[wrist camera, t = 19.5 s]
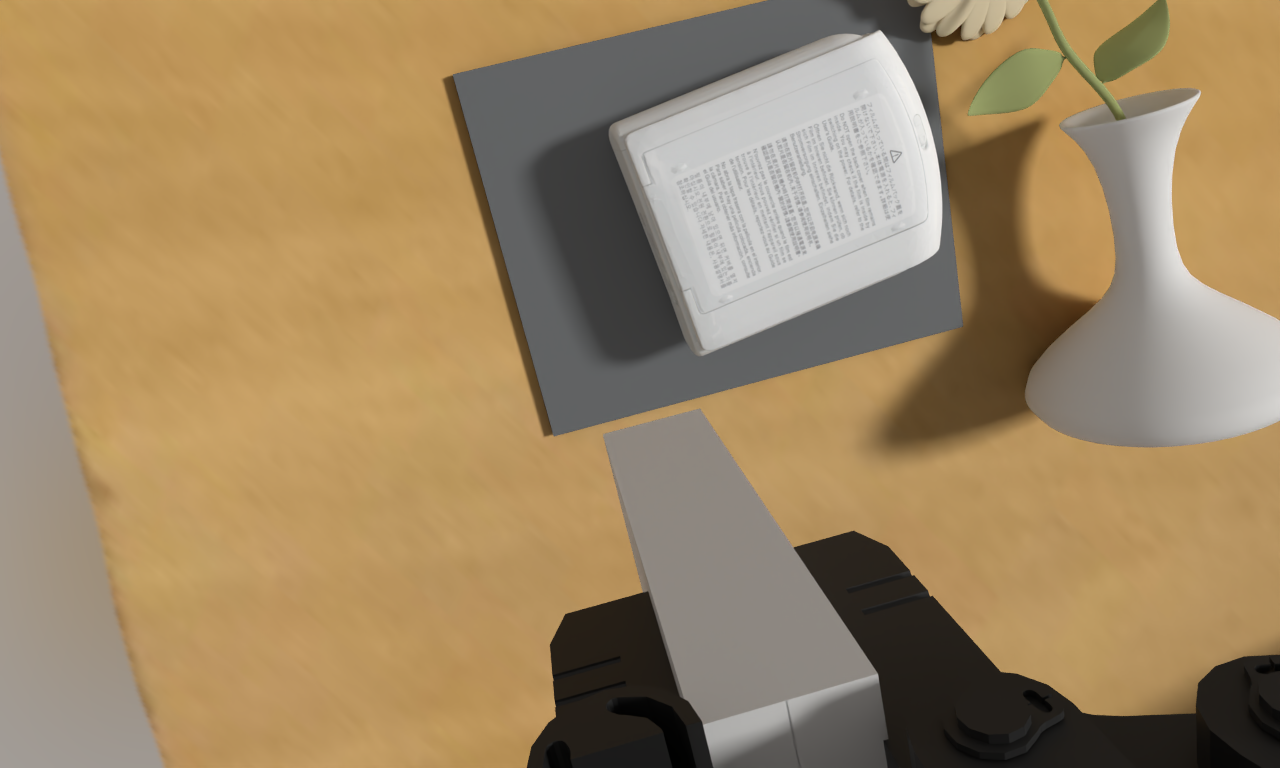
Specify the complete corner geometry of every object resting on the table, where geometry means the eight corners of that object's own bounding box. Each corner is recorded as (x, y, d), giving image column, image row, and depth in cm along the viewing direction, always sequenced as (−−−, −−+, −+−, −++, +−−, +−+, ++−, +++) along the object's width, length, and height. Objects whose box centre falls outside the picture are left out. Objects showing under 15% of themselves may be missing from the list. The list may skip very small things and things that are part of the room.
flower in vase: (1227, 339, 44) (1171, -213, 36) (1398, 428, 33) (1371, -329, 25) (966, 407, 46) (859, -101, 38) (1047, 511, 35) (923, -165, 27)
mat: (919, -35, 37) (923, -37, 36) (958, 324, 42) (963, 326, 41) (453, 75, 35) (452, 74, 35) (553, 433, 40) (553, 436, 40)
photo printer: (685, 347, 39) (933, 240, 40) (706, 372, 35) (982, 252, 36) (598, 127, 36) (868, 13, 37) (610, 126, 32) (914, -2, 32)
